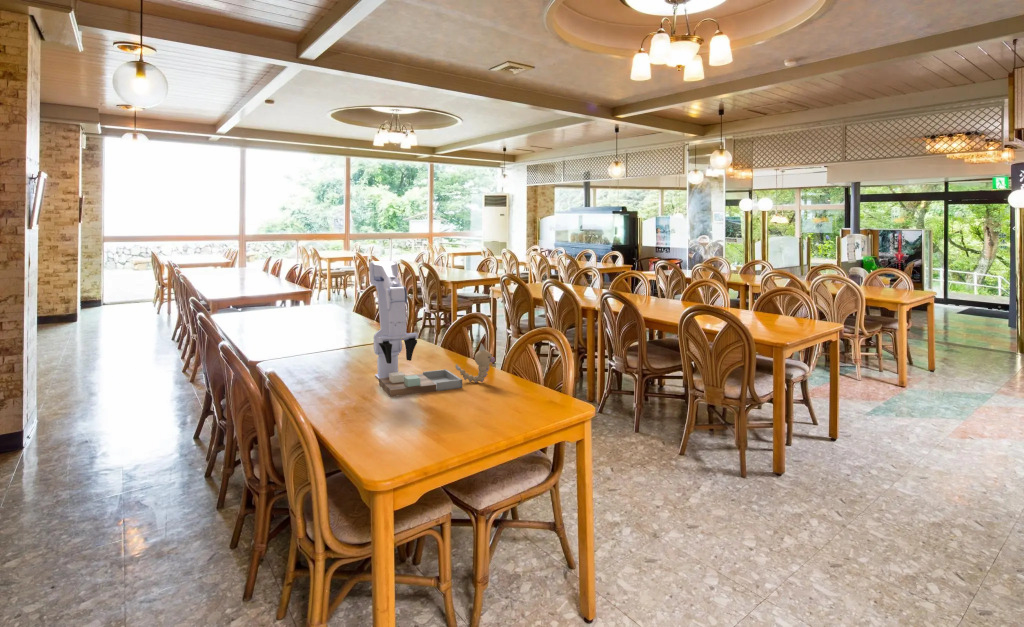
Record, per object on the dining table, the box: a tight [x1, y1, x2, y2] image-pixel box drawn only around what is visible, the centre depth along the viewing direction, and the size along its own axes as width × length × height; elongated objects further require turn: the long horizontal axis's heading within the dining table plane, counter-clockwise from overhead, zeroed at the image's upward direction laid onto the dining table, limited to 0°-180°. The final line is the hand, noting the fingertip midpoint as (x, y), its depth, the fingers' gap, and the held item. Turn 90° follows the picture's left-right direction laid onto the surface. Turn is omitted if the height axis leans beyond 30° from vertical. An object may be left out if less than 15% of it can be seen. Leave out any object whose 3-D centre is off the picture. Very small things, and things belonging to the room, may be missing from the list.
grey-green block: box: [404, 374, 421, 387], centre depth 202 cm, size 4×4×3 cm
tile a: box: [389, 371, 405, 383], centre depth 207 cm, size 4×4×3 cm
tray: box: [422, 368, 463, 392], centre depth 212 cm, size 17×9×3 cm, turn 26°
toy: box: [455, 342, 496, 384], centre depth 213 cm, size 6×15×15 cm, turn 78°
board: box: [378, 373, 437, 398], centre depth 207 cm, size 17×16×2 cm
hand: (399, 361), depth 200 cm, fingers open, 7 cm apart
